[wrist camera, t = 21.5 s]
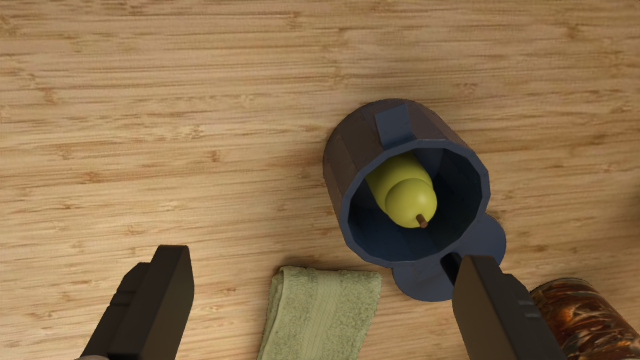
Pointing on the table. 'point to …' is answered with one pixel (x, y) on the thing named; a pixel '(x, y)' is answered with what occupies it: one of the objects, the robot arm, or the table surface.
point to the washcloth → (319, 314)
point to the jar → (585, 322)
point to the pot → (436, 158)
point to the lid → (453, 263)
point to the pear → (403, 190)
